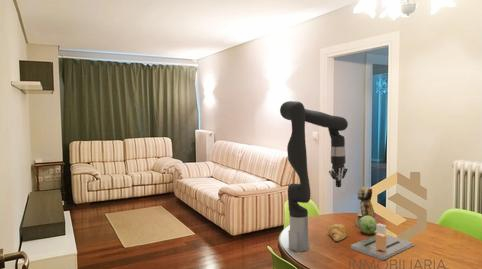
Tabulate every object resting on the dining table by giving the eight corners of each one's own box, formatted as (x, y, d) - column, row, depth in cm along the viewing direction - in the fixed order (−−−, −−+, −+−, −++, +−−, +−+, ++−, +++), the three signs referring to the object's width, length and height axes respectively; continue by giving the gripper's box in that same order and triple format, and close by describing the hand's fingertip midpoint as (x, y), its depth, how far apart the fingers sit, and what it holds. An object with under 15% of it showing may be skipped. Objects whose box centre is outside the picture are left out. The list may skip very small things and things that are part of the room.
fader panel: (383, 260, 156) (383, 256, 156) (350, 248, 171) (350, 244, 170) (413, 246, 171) (413, 242, 171) (380, 236, 186) (380, 232, 185)
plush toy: (350, 227, 198) (359, 186, 196) (349, 220, 211) (358, 182, 209) (375, 234, 194) (385, 192, 192) (373, 227, 208) (382, 187, 205)
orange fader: (383, 250, 161) (383, 236, 161) (375, 248, 164) (375, 233, 164) (386, 249, 162) (386, 234, 162) (378, 247, 166) (378, 232, 165)
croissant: (342, 249, 178) (349, 237, 176) (324, 239, 181) (331, 227, 179) (343, 234, 198) (350, 223, 196) (327, 225, 201) (334, 214, 199)
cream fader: (383, 239, 175) (383, 225, 174) (376, 237, 178) (376, 224, 178) (386, 238, 176) (385, 224, 176) (379, 236, 180) (378, 223, 179)
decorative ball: (379, 236, 185) (379, 218, 184) (360, 236, 187) (359, 218, 186) (375, 230, 195) (375, 213, 194) (357, 230, 197) (357, 213, 196)
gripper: (335, 156, 174) (336, 189, 175) (351, 154, 182) (352, 186, 182) (324, 155, 180) (324, 187, 181) (340, 153, 188) (340, 184, 189)
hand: (338, 186), depth 182 cm, fingers closed
